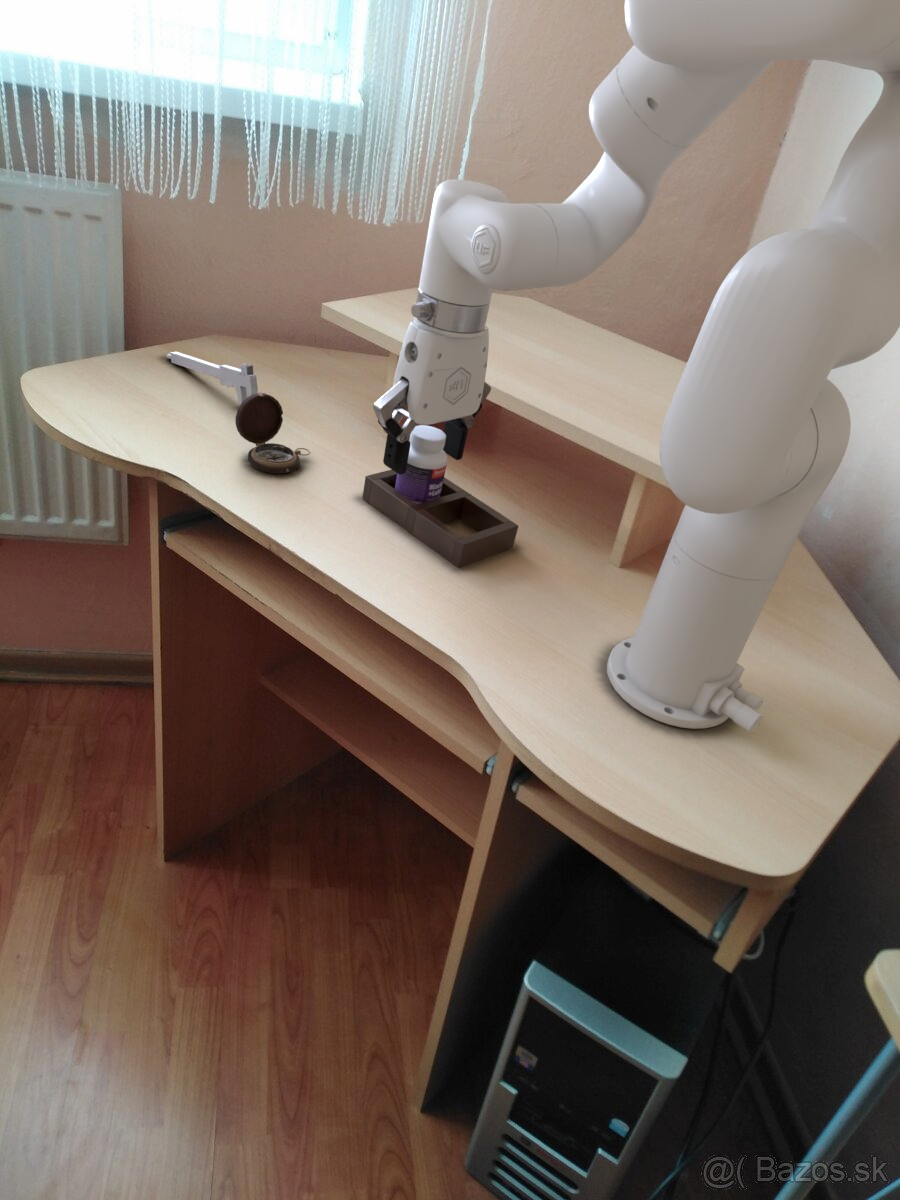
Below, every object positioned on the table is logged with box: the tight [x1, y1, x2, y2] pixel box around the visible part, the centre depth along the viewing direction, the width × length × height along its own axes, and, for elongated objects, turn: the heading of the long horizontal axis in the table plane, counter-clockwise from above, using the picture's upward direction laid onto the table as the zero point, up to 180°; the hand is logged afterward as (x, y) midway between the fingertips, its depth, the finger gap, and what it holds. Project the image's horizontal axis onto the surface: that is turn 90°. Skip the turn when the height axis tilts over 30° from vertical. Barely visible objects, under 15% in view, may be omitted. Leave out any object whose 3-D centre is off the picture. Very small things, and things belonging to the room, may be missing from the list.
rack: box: [362, 469, 519, 569], centre depth 103 cm, size 17×9×3 cm, turn 44°
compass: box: [235, 391, 311, 474], centre depth 107 cm, size 8×8×7 cm
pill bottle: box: [395, 425, 448, 504], centre depth 103 cm, size 5×5×10 cm
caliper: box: [165, 351, 259, 406], centre depth 121 cm, size 20×1×6 cm, turn 47°
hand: (423, 461), depth 102 cm, fingers open, 8 cm apart
